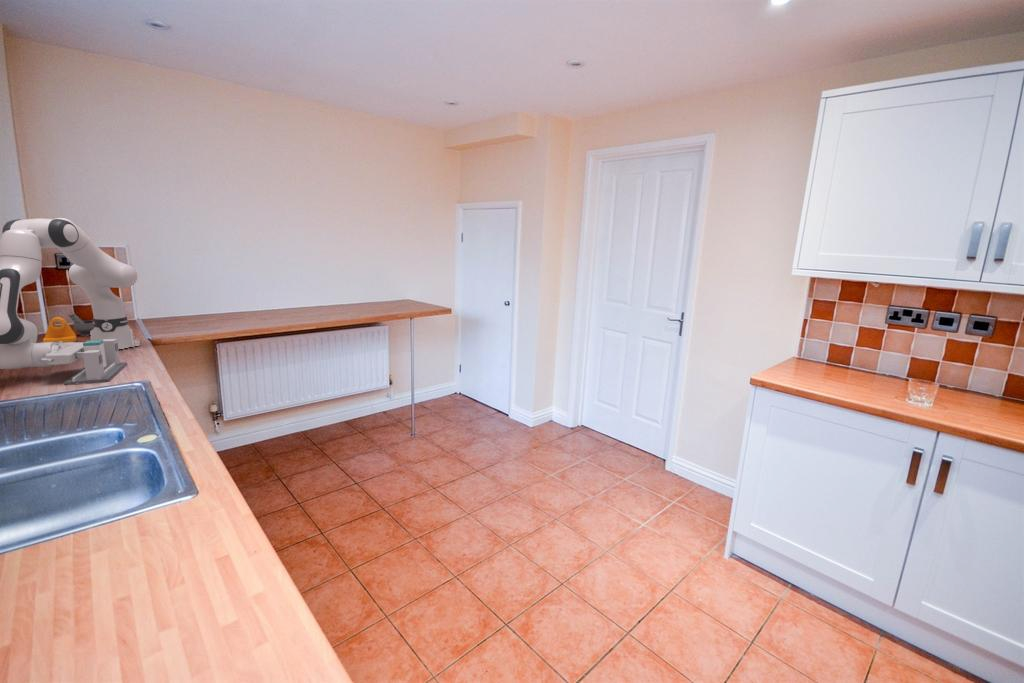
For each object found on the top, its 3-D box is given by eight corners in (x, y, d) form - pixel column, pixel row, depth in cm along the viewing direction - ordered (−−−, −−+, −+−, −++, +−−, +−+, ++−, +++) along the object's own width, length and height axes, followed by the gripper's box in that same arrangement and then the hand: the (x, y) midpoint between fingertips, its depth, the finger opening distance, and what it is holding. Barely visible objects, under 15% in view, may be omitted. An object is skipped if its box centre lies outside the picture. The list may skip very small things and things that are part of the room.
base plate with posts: (88, 367, 183) (84, 339, 181) (127, 364, 189) (123, 338, 186) (64, 385, 162) (59, 354, 159) (108, 381, 167) (104, 352, 165)
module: (91, 366, 176) (87, 340, 174) (106, 365, 178) (102, 340, 176) (86, 369, 172) (82, 343, 170) (102, 368, 174) (99, 342, 172)
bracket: (43, 346, 212) (38, 320, 210) (45, 342, 218) (41, 317, 215) (75, 343, 219) (71, 318, 216) (76, 340, 224) (73, 316, 222)
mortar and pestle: (101, 332, 242) (97, 310, 240) (101, 336, 235) (98, 312, 233) (71, 335, 235) (68, 311, 232) (71, 338, 228) (67, 314, 225)
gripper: (34, 352, 158) (86, 349, 164) (58, 340, 176) (104, 338, 182) (37, 370, 159) (89, 366, 165) (60, 356, 177) (107, 353, 183)
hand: (97, 351), depth 174 cm, fingers closed on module, 5 cm apart
